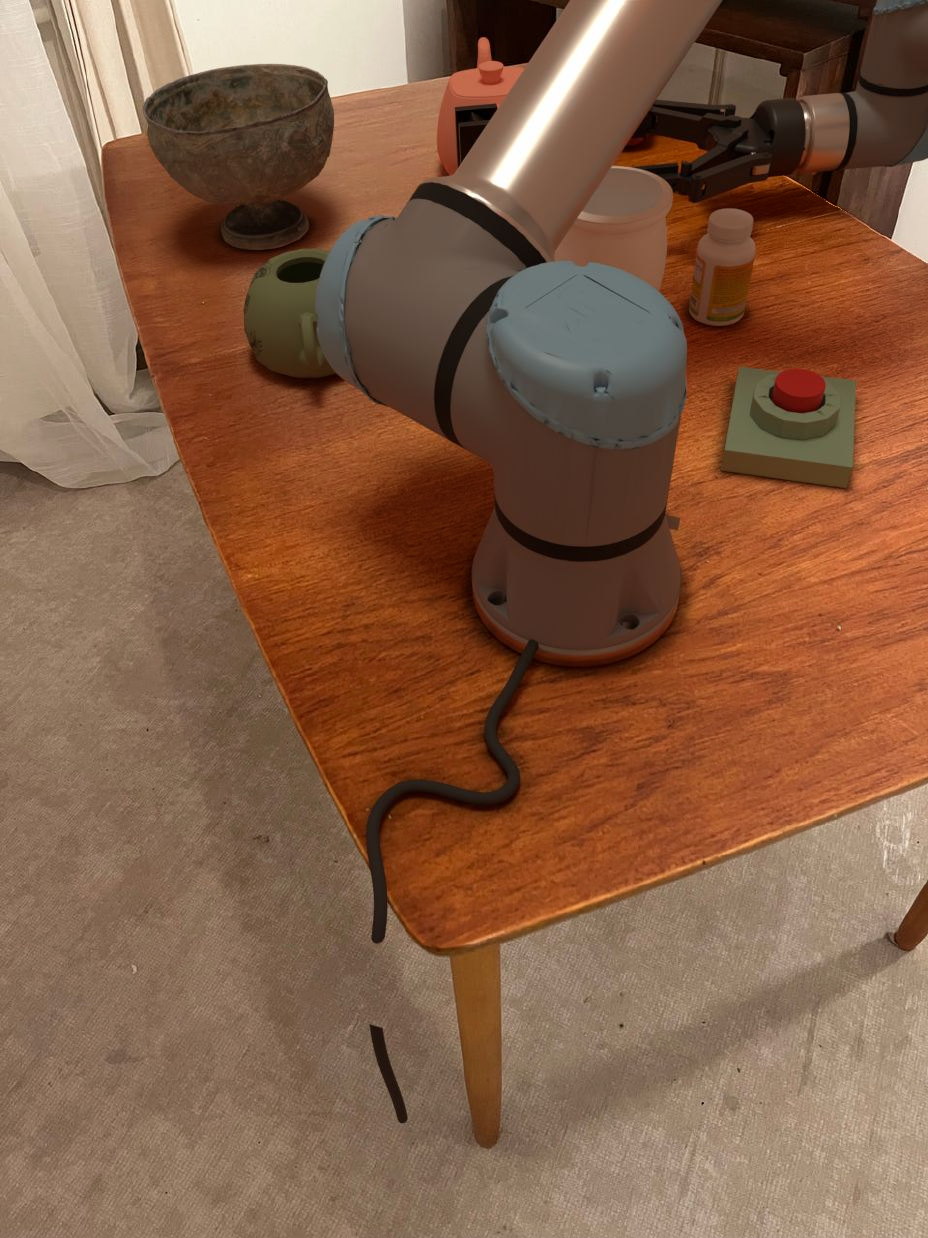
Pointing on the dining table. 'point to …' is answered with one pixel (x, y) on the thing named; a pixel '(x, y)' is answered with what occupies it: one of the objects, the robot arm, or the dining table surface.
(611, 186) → the jar
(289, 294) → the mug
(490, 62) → the teapot
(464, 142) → the lock bracket
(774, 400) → the button
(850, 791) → the dining table surface
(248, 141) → the bowl
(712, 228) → the supplement bottle
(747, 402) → the button box
